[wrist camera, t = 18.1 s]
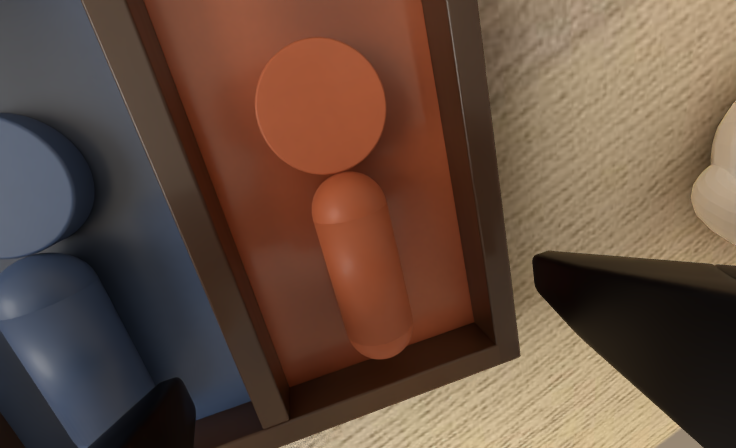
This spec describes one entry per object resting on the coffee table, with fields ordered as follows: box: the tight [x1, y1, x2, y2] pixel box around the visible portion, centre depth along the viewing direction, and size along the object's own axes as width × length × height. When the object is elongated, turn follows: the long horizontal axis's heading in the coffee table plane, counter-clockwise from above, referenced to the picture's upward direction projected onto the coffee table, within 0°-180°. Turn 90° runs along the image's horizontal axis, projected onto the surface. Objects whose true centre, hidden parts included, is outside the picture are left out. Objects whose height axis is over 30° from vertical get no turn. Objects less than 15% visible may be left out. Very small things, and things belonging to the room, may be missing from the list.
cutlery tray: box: [0, 0, 520, 448], centre depth 10 cm, size 16×14×2 cm
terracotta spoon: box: [255, 37, 414, 359], centre depth 10 cm, size 9×3×2 cm, turn 14°
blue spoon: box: [0, 113, 155, 448], centre depth 9 cm, size 9×3×2 cm, turn 14°
